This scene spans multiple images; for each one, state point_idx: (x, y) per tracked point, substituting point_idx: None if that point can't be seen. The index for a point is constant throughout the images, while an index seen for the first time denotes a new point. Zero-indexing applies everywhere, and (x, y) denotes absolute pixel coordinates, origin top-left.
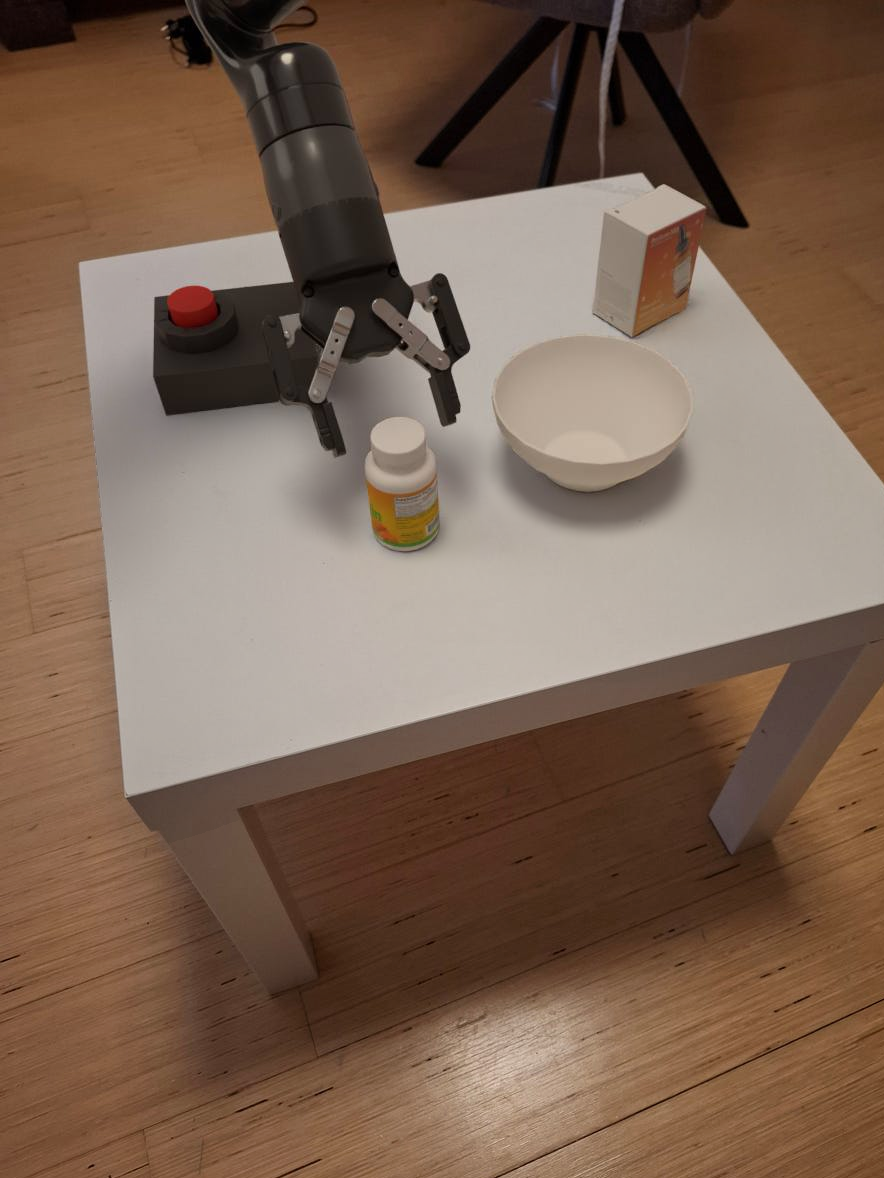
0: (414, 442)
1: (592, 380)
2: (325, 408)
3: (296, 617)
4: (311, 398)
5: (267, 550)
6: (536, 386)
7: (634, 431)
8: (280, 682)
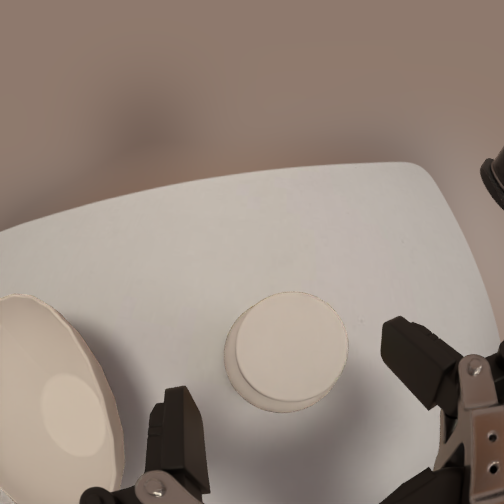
0: (260, 317)
1: (37, 477)
2: (448, 356)
3: (376, 259)
4: (478, 357)
5: None
6: None
7: (24, 413)
8: (373, 204)
